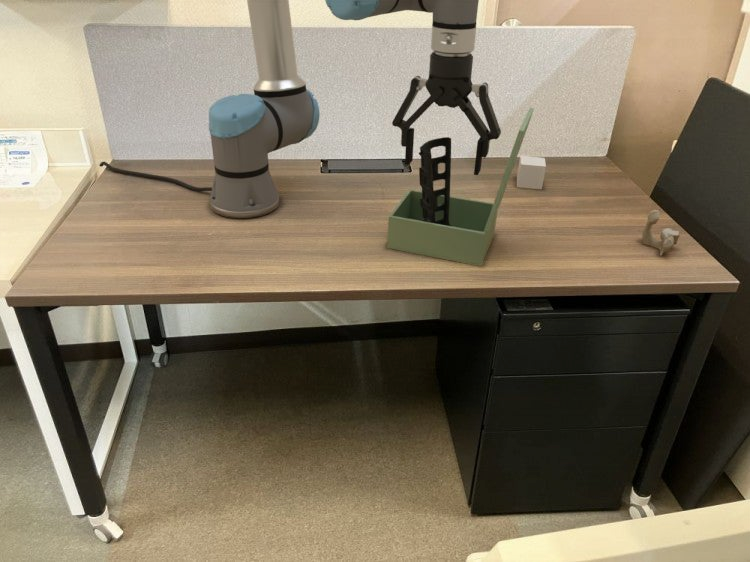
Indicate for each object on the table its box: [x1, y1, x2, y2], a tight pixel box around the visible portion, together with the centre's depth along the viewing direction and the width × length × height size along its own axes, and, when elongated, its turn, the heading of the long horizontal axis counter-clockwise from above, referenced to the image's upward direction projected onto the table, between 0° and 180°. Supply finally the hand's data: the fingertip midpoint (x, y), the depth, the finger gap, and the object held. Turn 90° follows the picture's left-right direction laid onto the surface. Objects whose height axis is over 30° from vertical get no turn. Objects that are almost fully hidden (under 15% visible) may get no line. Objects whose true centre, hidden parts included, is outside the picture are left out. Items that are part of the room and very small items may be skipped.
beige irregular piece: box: [641, 209, 681, 257], centre depth 122 cm, size 9×6×10 cm
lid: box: [484, 107, 535, 232], centre depth 112 cm, size 20×14×1 cm
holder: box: [418, 136, 453, 227], centre depth 120 cm, size 11×8×20 cm
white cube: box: [516, 155, 547, 190], centre depth 150 cm, size 6×6×6 cm
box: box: [386, 189, 499, 267], centre depth 123 cm, size 19×14×7 cm
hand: (442, 167), depth 117 cm, fingers open, 13 cm apart
